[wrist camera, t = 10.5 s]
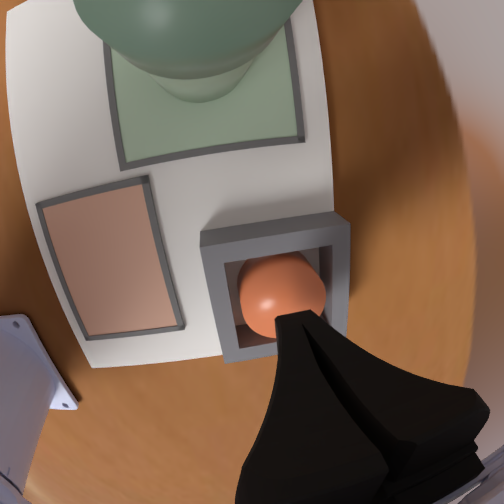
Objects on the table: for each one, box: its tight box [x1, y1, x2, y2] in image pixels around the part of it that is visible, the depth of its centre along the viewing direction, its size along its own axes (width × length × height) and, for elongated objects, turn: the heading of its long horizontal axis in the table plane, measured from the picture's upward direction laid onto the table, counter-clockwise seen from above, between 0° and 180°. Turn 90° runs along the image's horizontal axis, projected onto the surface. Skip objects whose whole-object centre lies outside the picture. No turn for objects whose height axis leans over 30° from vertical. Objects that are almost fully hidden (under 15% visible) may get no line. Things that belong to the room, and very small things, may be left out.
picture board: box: [6, 0, 350, 368], centre depth 11 cm, size 14×20×2 cm
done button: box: [237, 251, 326, 338], centre depth 14 cm, size 4×4×2 cm
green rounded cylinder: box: [73, 0, 303, 103], centre depth 7 cm, size 4×4×8 cm
